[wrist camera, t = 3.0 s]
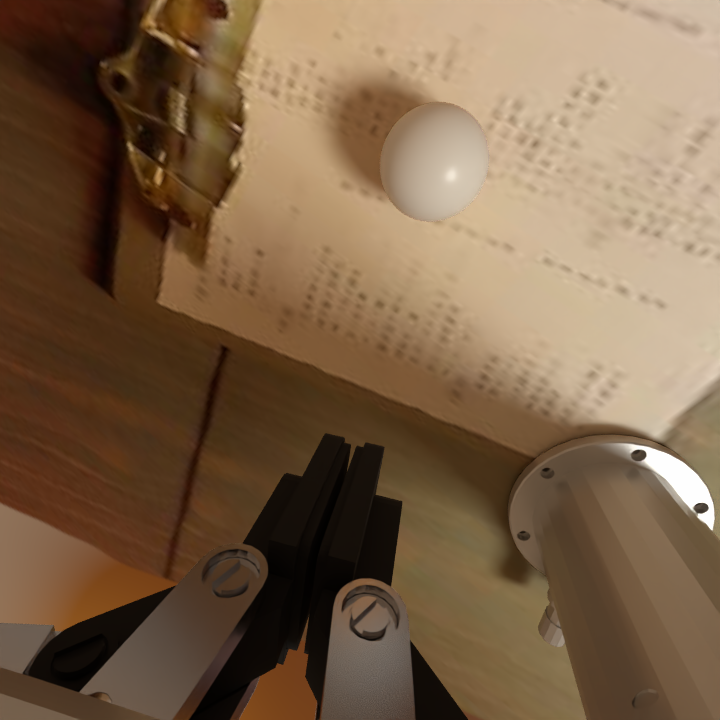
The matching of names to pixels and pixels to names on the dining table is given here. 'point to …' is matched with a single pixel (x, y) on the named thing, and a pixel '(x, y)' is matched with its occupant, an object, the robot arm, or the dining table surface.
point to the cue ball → (434, 161)
